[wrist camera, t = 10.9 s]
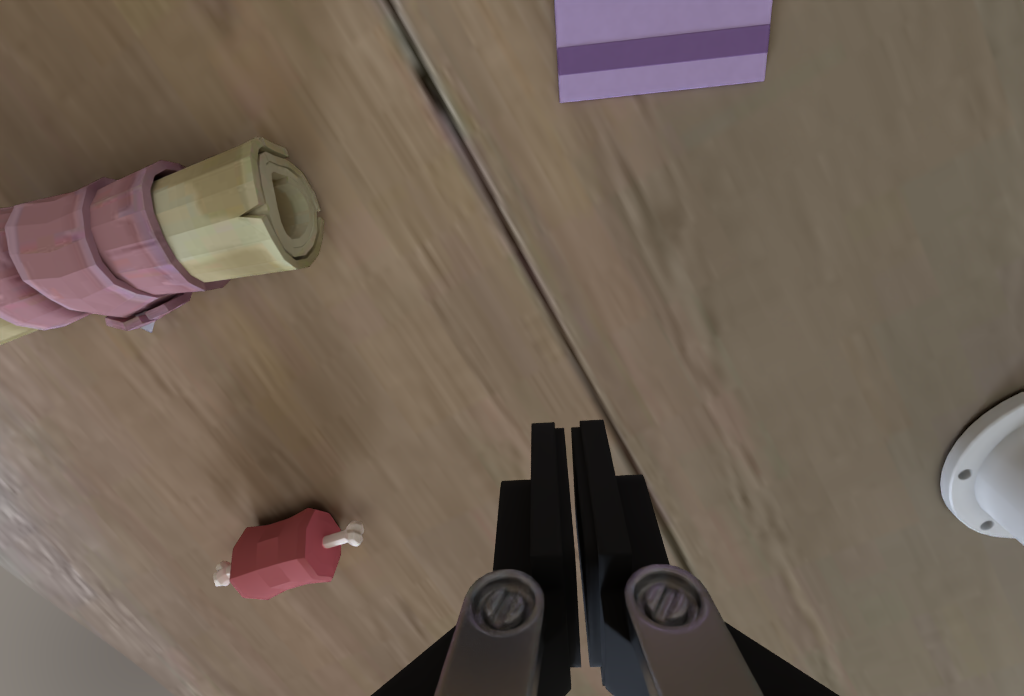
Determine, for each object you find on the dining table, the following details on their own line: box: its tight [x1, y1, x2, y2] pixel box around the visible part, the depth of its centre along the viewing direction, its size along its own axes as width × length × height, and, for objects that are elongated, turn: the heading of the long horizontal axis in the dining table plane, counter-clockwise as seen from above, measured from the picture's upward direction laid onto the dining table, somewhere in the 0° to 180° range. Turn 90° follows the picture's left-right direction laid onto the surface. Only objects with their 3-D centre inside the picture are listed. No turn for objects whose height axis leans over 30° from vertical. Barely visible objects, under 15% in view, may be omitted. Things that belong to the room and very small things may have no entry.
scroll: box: [0, 137, 324, 345], centre depth 27 cm, size 8×8×20 cm
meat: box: [213, 508, 364, 600], centre depth 37 cm, size 12×5×5 cm, turn 112°
